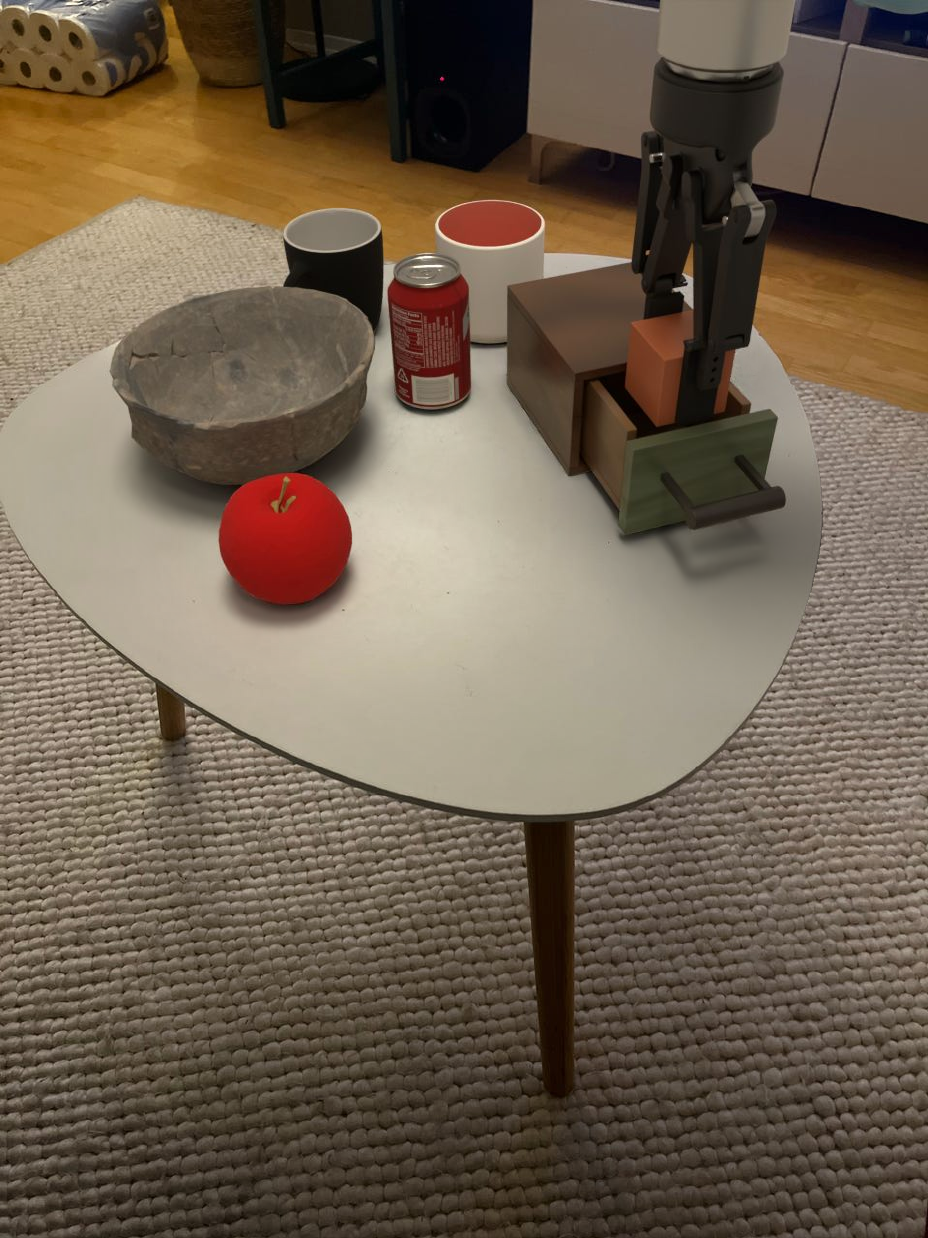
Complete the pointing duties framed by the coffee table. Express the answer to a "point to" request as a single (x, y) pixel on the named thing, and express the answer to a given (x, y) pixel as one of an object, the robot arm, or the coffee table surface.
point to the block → (664, 365)
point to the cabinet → (569, 346)
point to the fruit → (285, 538)
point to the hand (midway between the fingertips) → (674, 396)
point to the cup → (492, 257)
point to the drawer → (677, 460)
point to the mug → (338, 257)
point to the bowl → (245, 381)
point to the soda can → (430, 331)
